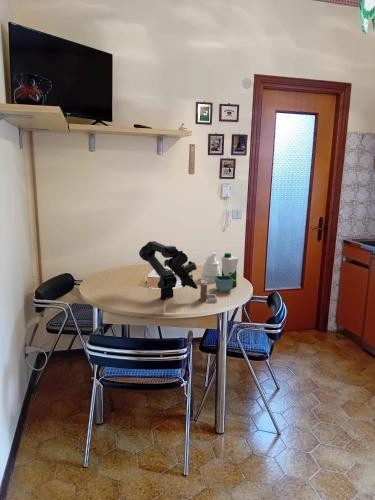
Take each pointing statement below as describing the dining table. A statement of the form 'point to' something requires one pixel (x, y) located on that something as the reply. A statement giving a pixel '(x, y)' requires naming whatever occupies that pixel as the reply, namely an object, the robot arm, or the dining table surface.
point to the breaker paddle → (203, 290)
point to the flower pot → (224, 283)
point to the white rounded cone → (210, 269)
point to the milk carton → (230, 267)
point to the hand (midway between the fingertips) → (197, 288)
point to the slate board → (212, 297)
